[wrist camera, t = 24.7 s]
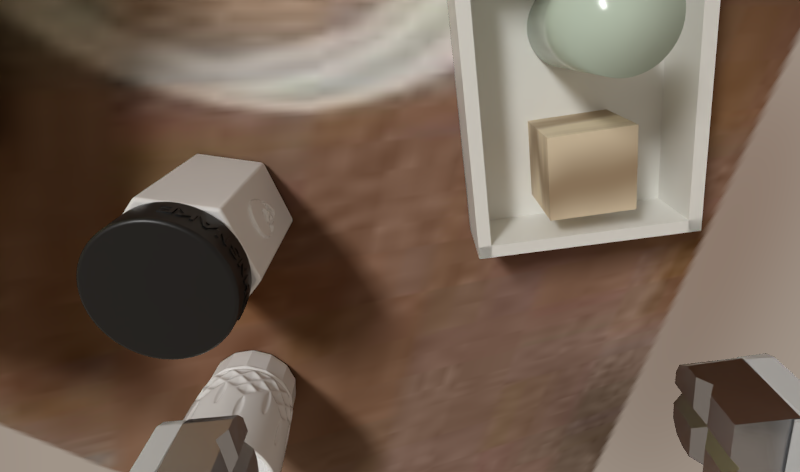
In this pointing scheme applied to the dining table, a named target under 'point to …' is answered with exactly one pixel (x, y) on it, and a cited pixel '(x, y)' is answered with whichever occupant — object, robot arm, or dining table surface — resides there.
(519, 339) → the dining table surface
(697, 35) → the tote
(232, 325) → the jar
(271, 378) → the white cup
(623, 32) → the sage cylinder
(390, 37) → the dining table surface
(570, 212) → the beech cube
